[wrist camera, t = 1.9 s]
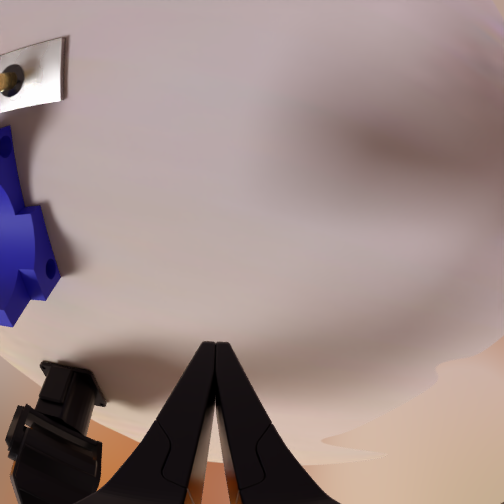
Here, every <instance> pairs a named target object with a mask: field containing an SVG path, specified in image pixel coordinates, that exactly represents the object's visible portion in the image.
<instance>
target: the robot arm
mask: <svg viewBox="0 0 504 504" xmlns="http://www.w3.org/2000/svg"><path fill="white" fill-rule="evenodd" d="M40 368H41V369H42V371H43V373H44V375H45V376H46V379H45V381H44V384H43V386H42V389H41V391H40V394H39V399H38V402H37V405H36V407H35V409H33V408H31V406H29V405H28V404H26V406H25V407H24V406H19V405H18V407H17V409H16V412H15V414H14V417H13V420H12V422H11V425H10V428H9V430H8V433H7V436H6V439H5V441H6V443H7V445H8V451H9V454H8V457H9V458H10V459H12V460H14V462H13V466H12V470H11V473H10V479H11V483H12V486H13V489H14V492H15V495H16V498H17V501H18V504H201V500H202V493H203V486H204V479H205V471H206V465H207V458H208V451H209V444H210V437H211V430H212V423H213V416H214V409H215V404H216V414H217V422H218V429H219V436H220V443H221V449H222V456H223V462H224V468H225V475H226V481H227V487H228V493H229V498H230V504H340V503H339V502H337V501H335V500H334V499H332V498H331V497H329V496H328V495H327V494H326V493H325V492H324V491H323V490H322V489H321V488H320V487H319V486H318V485H317V484H316V483H315V481H314V480H313V479H312V478H311V477H310V476H309V474H308V473H307V472H306V471H305V469H304V468H303V467H302V466H301V465H300V463H299V462H298V461H297V460H296V458H295V457H294V456H293V454H292V453H291V452H290V450H289V449H288V448H287V446H286V445H285V443H284V442H283V440H282V439H281V437H280V435H279V434H278V432H277V430H276V428H275V427H274V425H273V424H272V422H271V420H270V418H269V416H268V415H267V413H266V411H265V409H264V407H263V405H262V404H261V402H260V400H259V398H258V396H257V394H256V393H255V391H254V389H253V387H252V385H251V383H250V381H249V380H248V378H247V376H246V374H245V372H244V370H243V368H242V366H241V364H240V362H239V360H238V359H237V357H236V355H235V353H234V351H233V349H232V347H231V345H230V343H228V342H217V343H215V342H210V341H204V342H202V343H201V345H200V347H199V348H198V350H197V352H196V353H195V355H194V357H193V358H192V360H191V362H190V363H189V365H188V366H187V368H186V370H185V371H184V373H183V375H182V376H181V378H180V380H179V381H178V383H177V385H176V386H175V388H174V390H173V391H172V393H171V395H170V396H169V398H168V400H167V401H166V403H165V405H164V406H163V408H162V410H161V411H160V413H159V415H158V416H157V418H156V420H155V421H154V423H153V424H152V426H151V427H150V429H149V431H148V432H147V434H146V435H145V437H144V438H143V440H142V441H141V443H140V444H139V445H138V447H137V448H136V449H135V450H134V452H133V453H132V454H131V455H130V457H129V458H128V459H127V460H126V461H125V462H124V464H123V465H122V466H121V467H120V468H119V470H118V471H117V472H116V473H115V474H114V475H113V477H112V478H111V479H110V480H109V481H108V482H107V483H106V484H105V485H104V486H103V487H102V488H101V489H99V490H98V491H97V488H98V486H99V482H100V477H101V458H102V442H99V441H95V440H93V439H91V438H88V437H86V435H87V431H88V427H89V423H90V419H91V415H92V412H93V408H94V405H96V406H102V407H105V406H106V401H105V399H104V397H103V395H102V393H101V390H100V388H99V386H98V384H97V382H96V380H95V378H94V376H93V374H92V372H90V371H88V370H83V369H77V368H71V367H66V366H60V365H55V364H50V363H46V362H41V364H40ZM25 424H26V425H28V426H29V427H30V428H27V427H25V426H24V425H25ZM501 504H504V502H503V503H501Z"/></svg>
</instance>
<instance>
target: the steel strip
mask: <svg viewBox="0 0 504 504" xmlns="http://www.w3.org/2000/svg"><path fill="white" fill-rule="evenodd" d="M64 47H65V38H58V39H54V40H50V41H46V42H43V43H39V44H36V45H32V46H29V47H26V48H22V49H19V50H16V51H13V52H10V53H7V54H4V55H2V56H0V113H2V112H6V111H11V110H15V109H19V108H24V107H29V106H34V105H39V104H44V103H50V102H56V101H62V100H63V72H64Z"/></svg>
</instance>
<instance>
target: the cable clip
mask: <svg viewBox="0 0 504 504" xmlns="http://www.w3.org/2000/svg"><path fill="white" fill-rule="evenodd" d="M60 278H61V276H60V273H59V270H58V267H57V264H56V260H55V257H54V254H53V251H52V247H51V244H50V240H49V237H48V233H47V230H46V226H45V222H44V218H43V214H42V210H41V206H40V205H39V206H28V207H25V204H24V200H23V196H22V191H21V187H20V182H19V177H18V172H17V167H16V161H15V155H14V149H13V142H12V135H11V127H10V125H9V126H6V127H2V128H0V325H2V326H8V327H13V326H14V325H15V323H16V321H17V320H18V318H19V317H20V315H21V314H22V312H23V310H24V309H25V307H26V306H27V304H28V303H29V301H30V300H43V301H46V300H47V298H48V296H49V295H50V293H51V292H52V290H53V289H54V287H55V285H56V284H57V282H58V281H59V279H60Z"/></svg>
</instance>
